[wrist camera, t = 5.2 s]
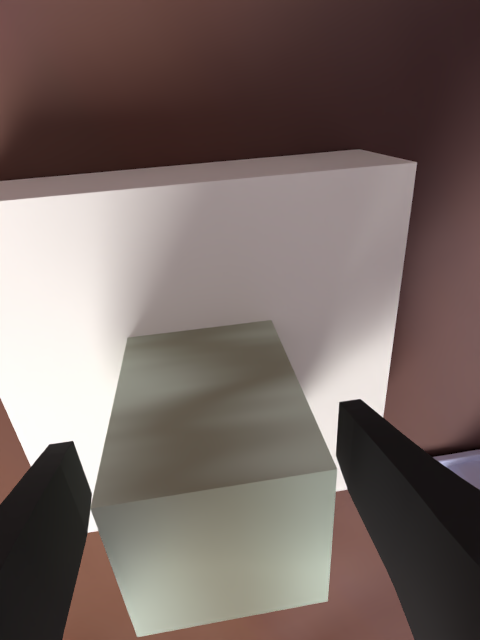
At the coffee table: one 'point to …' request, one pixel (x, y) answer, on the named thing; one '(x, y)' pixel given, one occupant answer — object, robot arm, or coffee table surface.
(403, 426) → the coffee table surface
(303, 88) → the coffee table surface
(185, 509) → the sage block
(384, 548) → the robot arm
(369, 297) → the plinth
